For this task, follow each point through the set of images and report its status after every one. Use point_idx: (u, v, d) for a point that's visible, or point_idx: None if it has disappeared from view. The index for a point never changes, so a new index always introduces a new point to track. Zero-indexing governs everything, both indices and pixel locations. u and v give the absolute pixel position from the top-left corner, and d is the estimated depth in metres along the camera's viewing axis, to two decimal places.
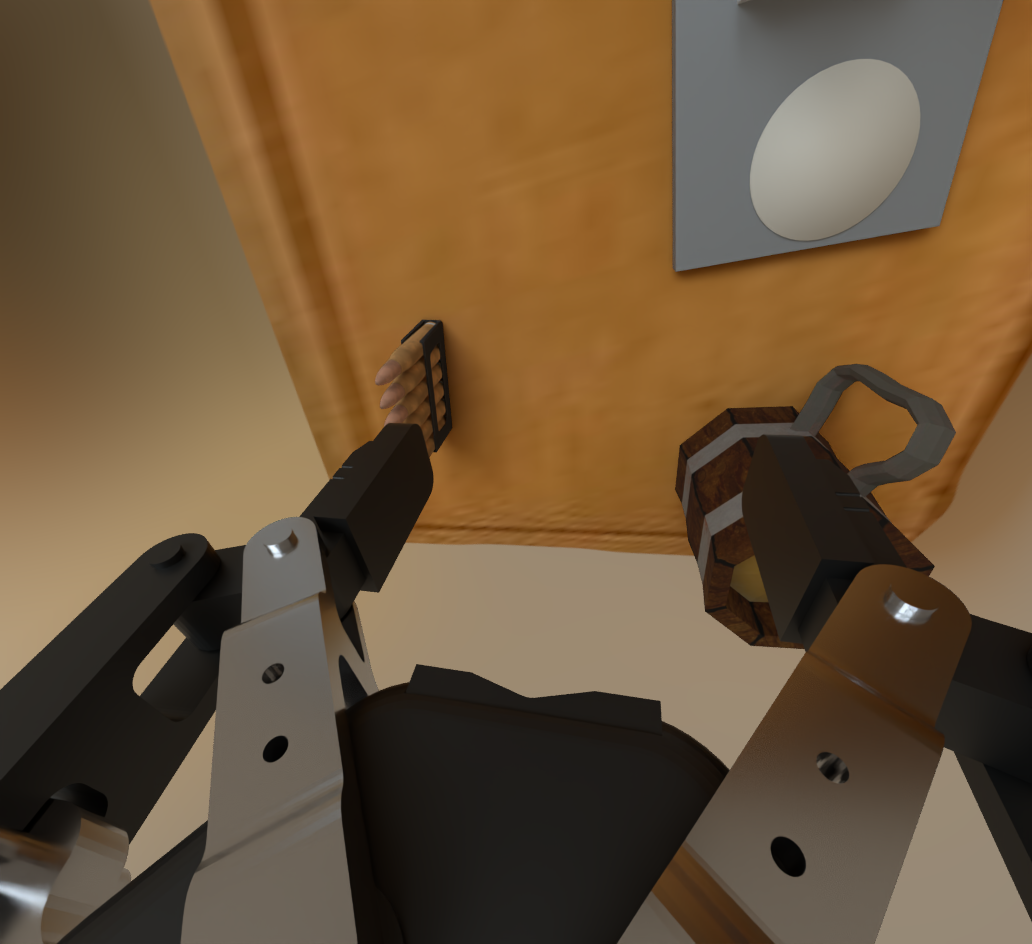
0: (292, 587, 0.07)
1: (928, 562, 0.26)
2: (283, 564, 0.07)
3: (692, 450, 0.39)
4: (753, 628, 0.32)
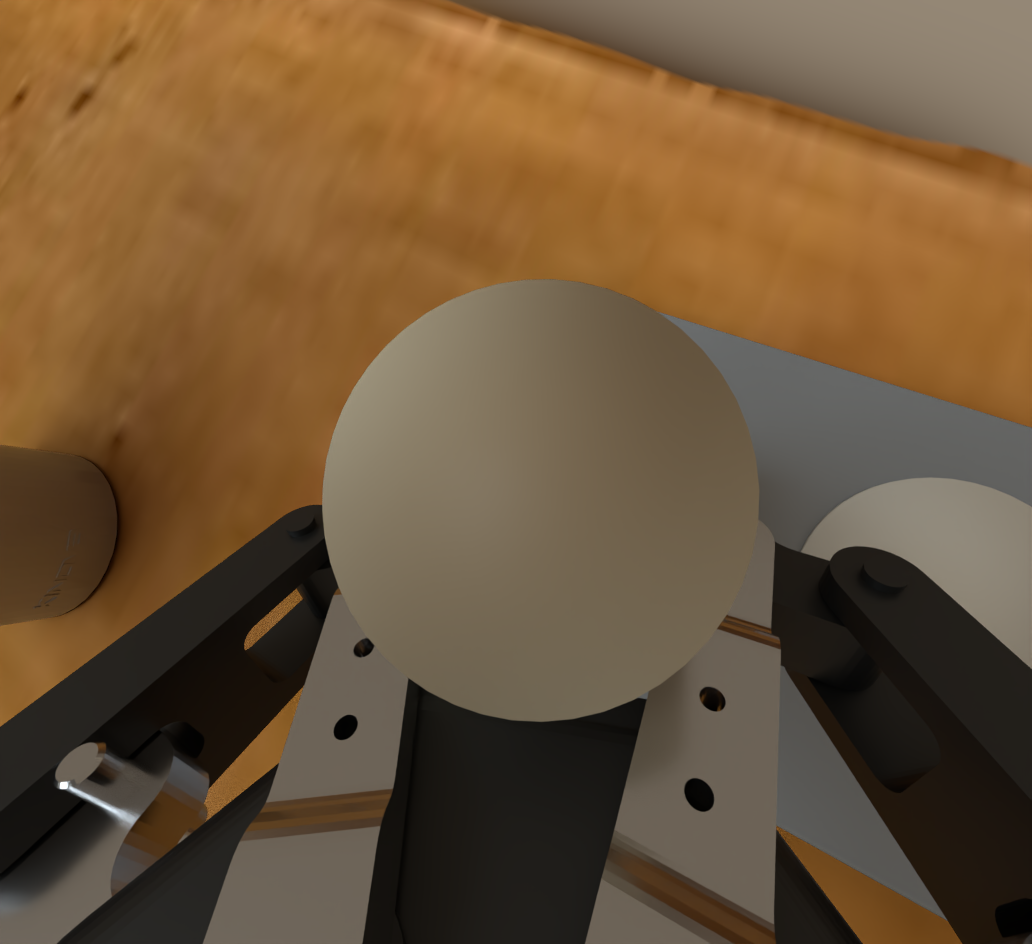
0: None
1: None
2: None
3: None
4: None
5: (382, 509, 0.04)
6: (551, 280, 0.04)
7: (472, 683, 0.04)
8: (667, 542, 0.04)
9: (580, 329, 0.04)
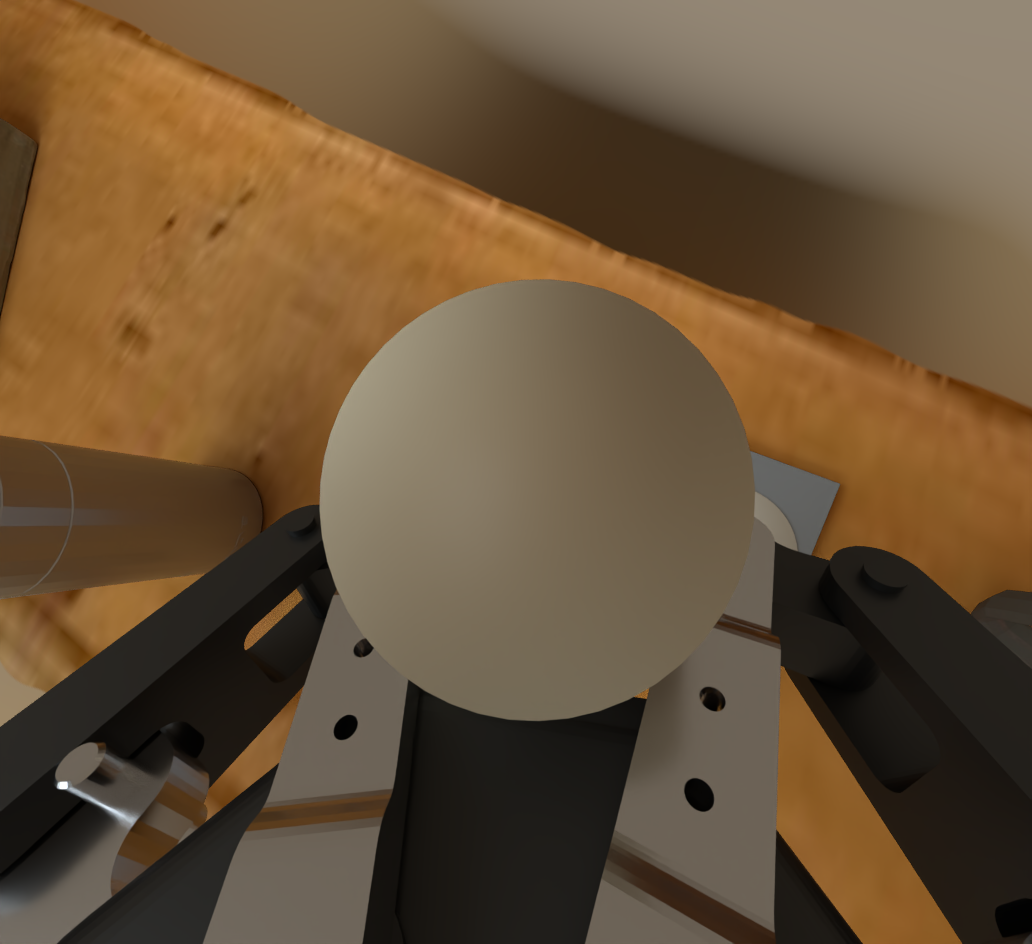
0: None
1: None
2: None
3: None
4: None
5: (379, 509, 0.04)
6: (548, 280, 0.04)
7: (469, 682, 0.04)
8: (663, 543, 0.04)
9: (577, 329, 0.04)
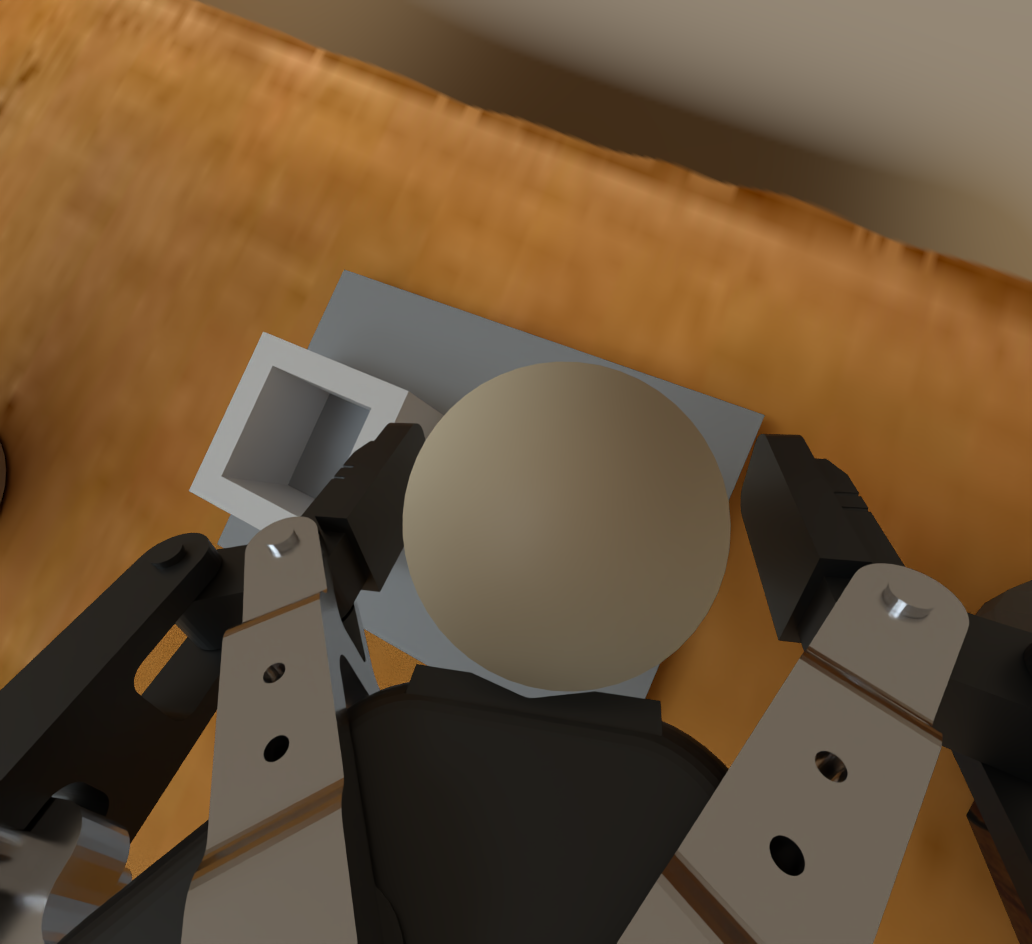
0: (293, 586, 0.07)
1: None
2: (284, 564, 0.07)
3: None
4: None
5: (450, 535, 0.06)
6: None
7: (521, 664, 0.05)
8: (665, 562, 0.05)
9: (600, 401, 0.05)
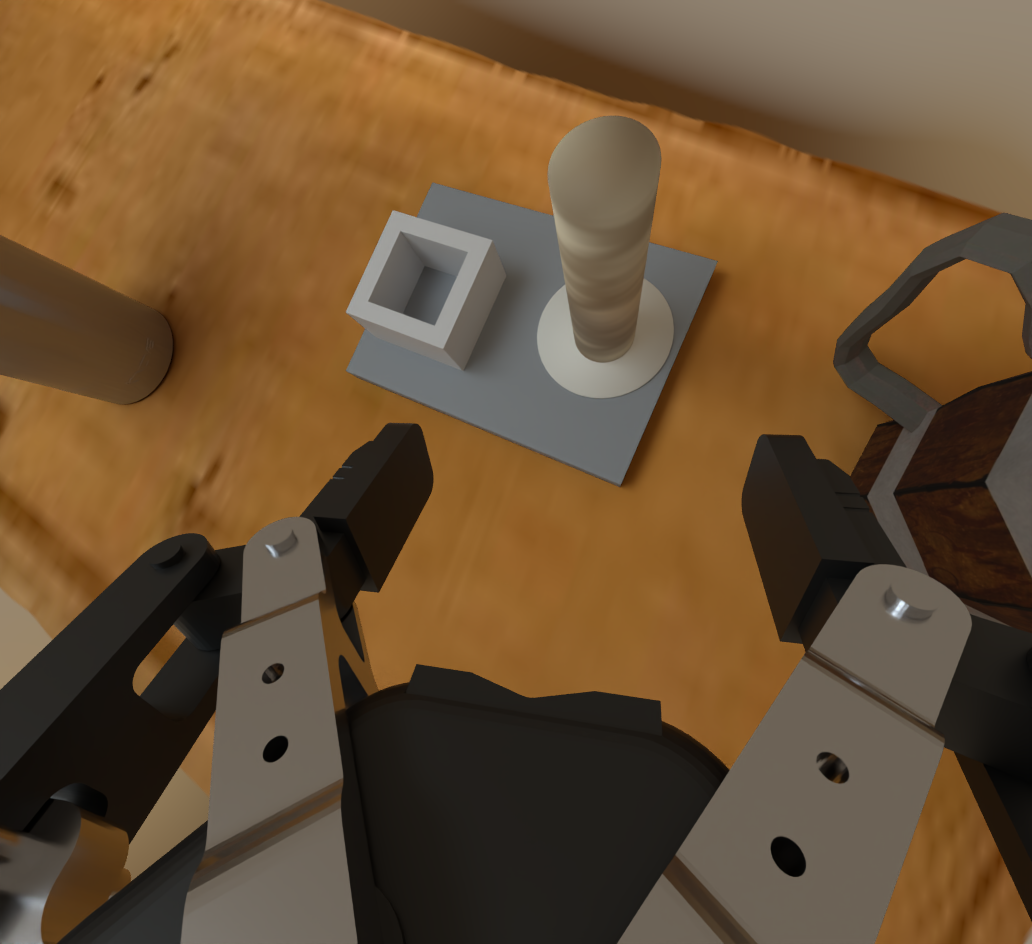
0: (292, 587, 0.07)
1: None
2: (283, 564, 0.07)
3: None
4: None
5: (565, 177, 0.16)
6: (610, 116, 0.16)
7: (592, 211, 0.16)
8: (639, 173, 0.15)
9: (618, 127, 0.16)
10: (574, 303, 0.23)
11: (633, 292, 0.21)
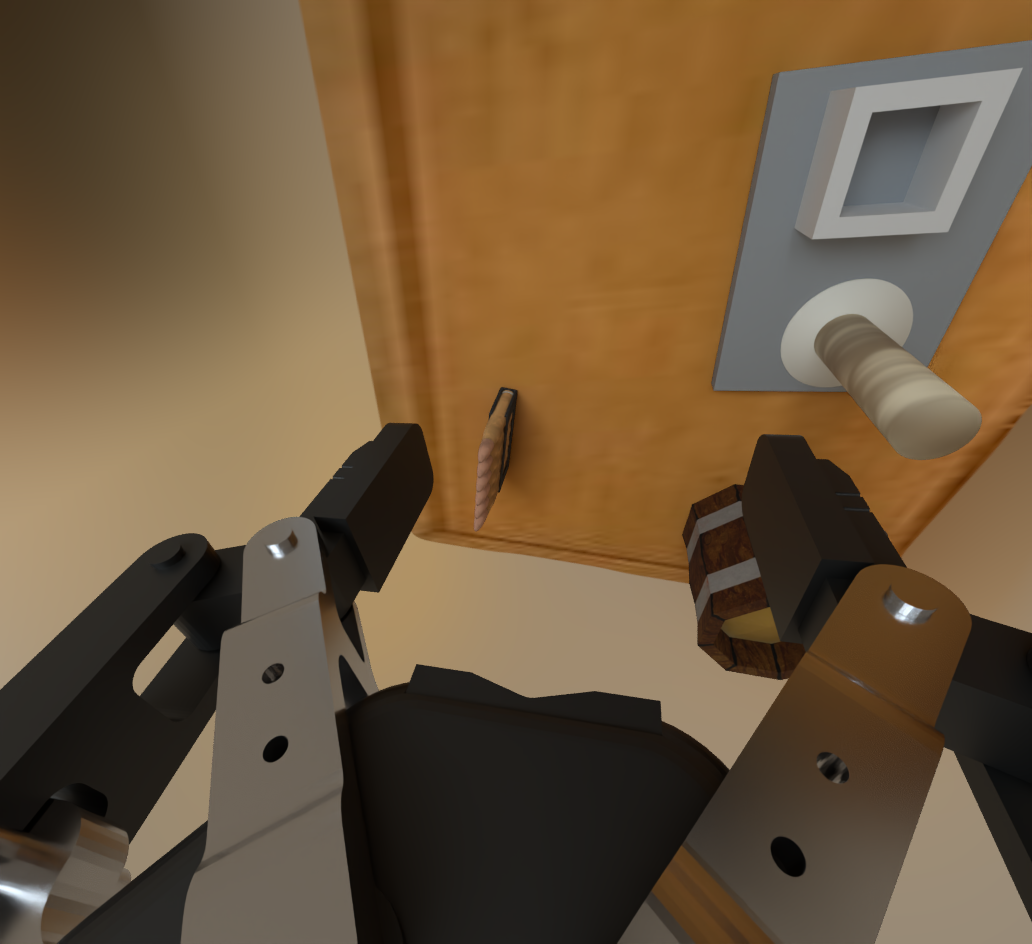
0: (292, 587, 0.07)
1: None
2: (283, 564, 0.07)
3: (702, 512, 0.49)
4: (730, 659, 0.44)
5: (930, 414, 0.24)
6: (980, 424, 0.24)
7: (897, 435, 0.25)
8: (925, 451, 0.26)
9: (968, 431, 0.25)
10: (855, 363, 0.30)
11: None
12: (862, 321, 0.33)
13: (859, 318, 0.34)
